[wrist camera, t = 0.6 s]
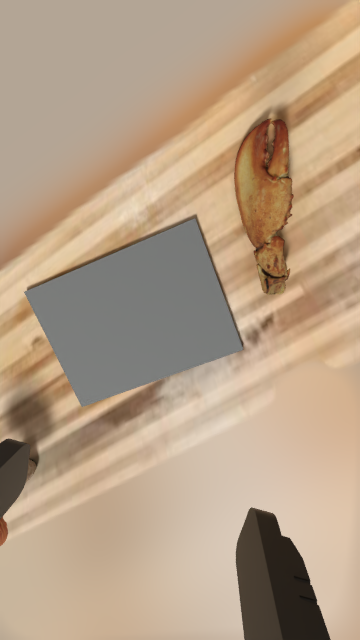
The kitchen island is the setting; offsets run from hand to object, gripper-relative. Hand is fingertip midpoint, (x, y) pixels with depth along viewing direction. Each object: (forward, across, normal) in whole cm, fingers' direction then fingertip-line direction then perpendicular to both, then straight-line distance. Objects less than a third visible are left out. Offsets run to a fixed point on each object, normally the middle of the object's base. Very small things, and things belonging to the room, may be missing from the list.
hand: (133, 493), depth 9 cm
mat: (+27, +7, +1) cm, 28 cm away
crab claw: (+25, -9, -7) cm, 27 cm away
